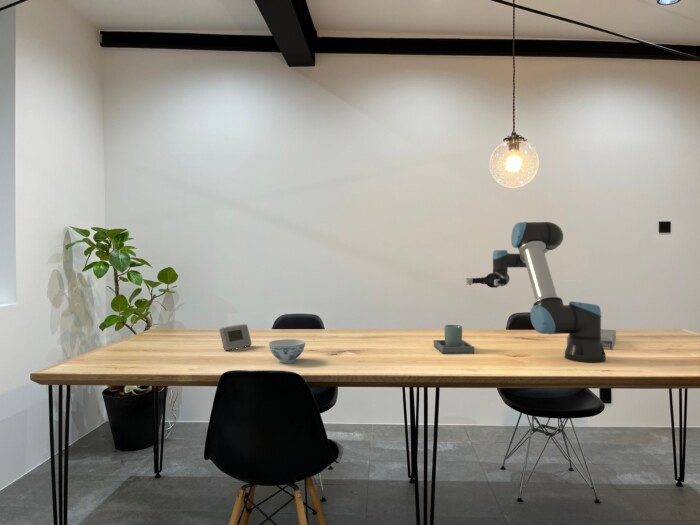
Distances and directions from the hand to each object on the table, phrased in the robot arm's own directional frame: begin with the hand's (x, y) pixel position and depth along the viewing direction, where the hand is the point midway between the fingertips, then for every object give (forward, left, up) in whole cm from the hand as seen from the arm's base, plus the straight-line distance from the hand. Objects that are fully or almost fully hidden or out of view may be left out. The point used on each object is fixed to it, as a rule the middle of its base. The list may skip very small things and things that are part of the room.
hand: (480, 282), depth 228 cm
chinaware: (-29, +91, -30) cm, 100 cm away
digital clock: (0, +118, -30) cm, 122 cm away
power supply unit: (0, -55, -31) cm, 63 cm away
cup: (-12, +17, -29) cm, 36 cm away
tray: (-12, +17, -30) cm, 37 cm away
